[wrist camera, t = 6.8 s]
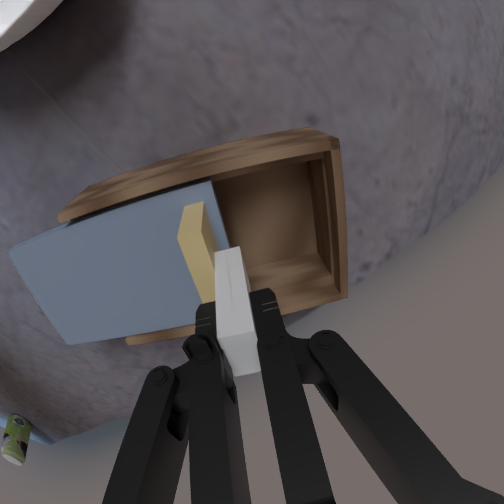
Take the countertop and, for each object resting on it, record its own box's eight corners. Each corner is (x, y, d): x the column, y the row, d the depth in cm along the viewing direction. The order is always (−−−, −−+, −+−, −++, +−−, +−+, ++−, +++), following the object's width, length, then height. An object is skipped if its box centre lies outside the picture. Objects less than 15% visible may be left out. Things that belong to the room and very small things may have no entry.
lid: (71, 337, 22) (55, 378, 18) (13, 245, 17) (-19, 281, 13) (247, 302, 22) (255, 352, 18) (210, 176, 17) (209, 206, 13)
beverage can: (9, 415, 40) (-3, 455, 29) (12, 408, 38) (-2, 452, 27) (31, 428, 42) (21, 469, 32) (36, 422, 40) (25, 467, 30)
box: (140, 300, 27) (128, 345, 22) (88, 186, 20) (56, 215, 15) (324, 257, 27) (347, 297, 22) (308, 127, 20) (338, 138, 15)
